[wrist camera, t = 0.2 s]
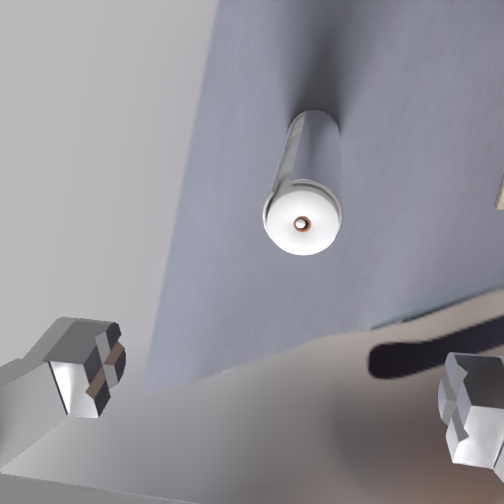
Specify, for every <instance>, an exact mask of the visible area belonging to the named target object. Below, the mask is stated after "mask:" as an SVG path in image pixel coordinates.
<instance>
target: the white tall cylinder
mask: <svg viewBox="0 0 504 504" xmlns="http://www.w3.org/2000/svg"><path fill="white" fill-rule="evenodd" d="M261 219H262V224H263V227H264V229H265V231H266V233H267V235H268V236H269V237H270V238H271V240H272V241H273V242H274V243H276V244H277V245H278V246H279V247H280V248H282V249H283V250H285V251H287V252H290V253H292V254H297V255H310V254H314V253H317V252H320V251H322V250H323V249H325V248H326V247H328V246H329V245H330V244H331V243H332V242H333V241H334V239H335V238H336V237H337V235H338V233H339V231H340V229H341V227H342V222H343V200H342V176H341V152H340V133H339V127H338V124H337V122H336V121H335V119H334V118H333V117H332V116H331V115H329V114H328V113H327V112H324V111H322V110H315V109H313V110H307V111H304V112H302V113H300V114H299V115H298V116H296V117H295V118H294V120H293V121H292V122H291V124H290V127H289V129H288V132H287V135H286V138H285V141H284V144H283V147H282V150H281V153H280V156H279V159H278V162H277V165H276V167H275V170H274V173H273V176H272V179H271V182H270V185H269V188H268V191H267V194H266V197H265V200H264V203H263V206H262V213H261Z"/></svg>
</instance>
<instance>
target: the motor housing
mask: <svg viewBox="0 0 504 504" xmlns="http://www.w3.org/2000/svg"><path fill="white" fill-rule="evenodd" d="M495 207H496V208H497V209H504V176H503V179H502V183H501V186H500V189H499V193H498V196H497V199H496V203H495Z"/></svg>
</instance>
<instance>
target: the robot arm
mask: <svg viewBox="0 0 504 504" xmlns="http://www.w3.org/2000/svg"><path fill="white" fill-rule="evenodd" d="M120 336H121V331H120V328H119V324H117V323H115V322H108V321H98V320H90V319H81V318H80V319H77V318H69V317H61V318H58V319H57V320H56V321H55V322H54V323H53V324H52V325H51V326H50V328H49V329H48V330H47V331H46V332H45V333H44V335H43V336H42V337H41V338H40V339H39V341H38V342H37V343H36V344H35V345H34V346H33V348H32V349H31V350H30V351H29V352H28V353H27V354H26V356H25V357H24V358H23V359H15V360H13V361H11V362H9V363H7V364H5V365H3V366H1V367H0V469H1V468H3V467H4V466H5V465H6V464H8V463H9V462H10V461H12V459H14V458H15V457H17V456H18V455H19V454H20V453H22V452H23V451H24V450H26V449H27V448H28V447H29V446H31V445H32V444H33V443H35V442H36V441H37V440H38V439H40V438H41V437H42V436H44V435H45V434H46V433H47V432H49V431H50V430H51V429H53V428H54V427H55V426H56V425H58V424H59V423H60V422H61V421H63V420H64V419H65V418H67V415H69V416H80V417H90V418H99V417H100V416H101V414H102V412H103V410H104V409H105V406H106V405H107V403H108V401H109V400H110V398H111V396H110V392H109V389H111V388H112V387H114V386H115V385H117V384H118V383H119V381H120V379H121V378H122V375H123V373H124V369H125V365H126V353H125V348H124V347H123V346H122V345H121V344H120V343H119V342H118V339H119V337H120ZM445 367H446V371H447V375H445V376H444V377H443V378H441V381H440V385H439V391H438V392H439V393H438V404H439V411H440V416H441V419H442V420H443V421H444V422H445V423H446V424H447V425H448V426H449V427H448V430H447V433H446V439H447V443H448V447H449V451H450V454H451V458H452V462H453V463H460V464H466V465H472V466H479V467H486V468H492V469H494V472H495V473H496V474H497V475H498V476H499V478H500V479H501V480H502V481H503V482H504V356H490V355H478V354H465V353H453V352H450V353H449V355H448V356H447V359H446V362H445ZM0 504H200V503H193V502H186V501H179V500H173V499H166V498H160V497H153V496H147V495H140V494H134V493H127V492H120V491H114V490H107V489H100V488H93V487H87V486H80V485H73V484H67V483H60V482H53V481H47V480H40V479H34V478H27V477H20V476H14V475H7V474H1V473H0Z"/></svg>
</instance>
